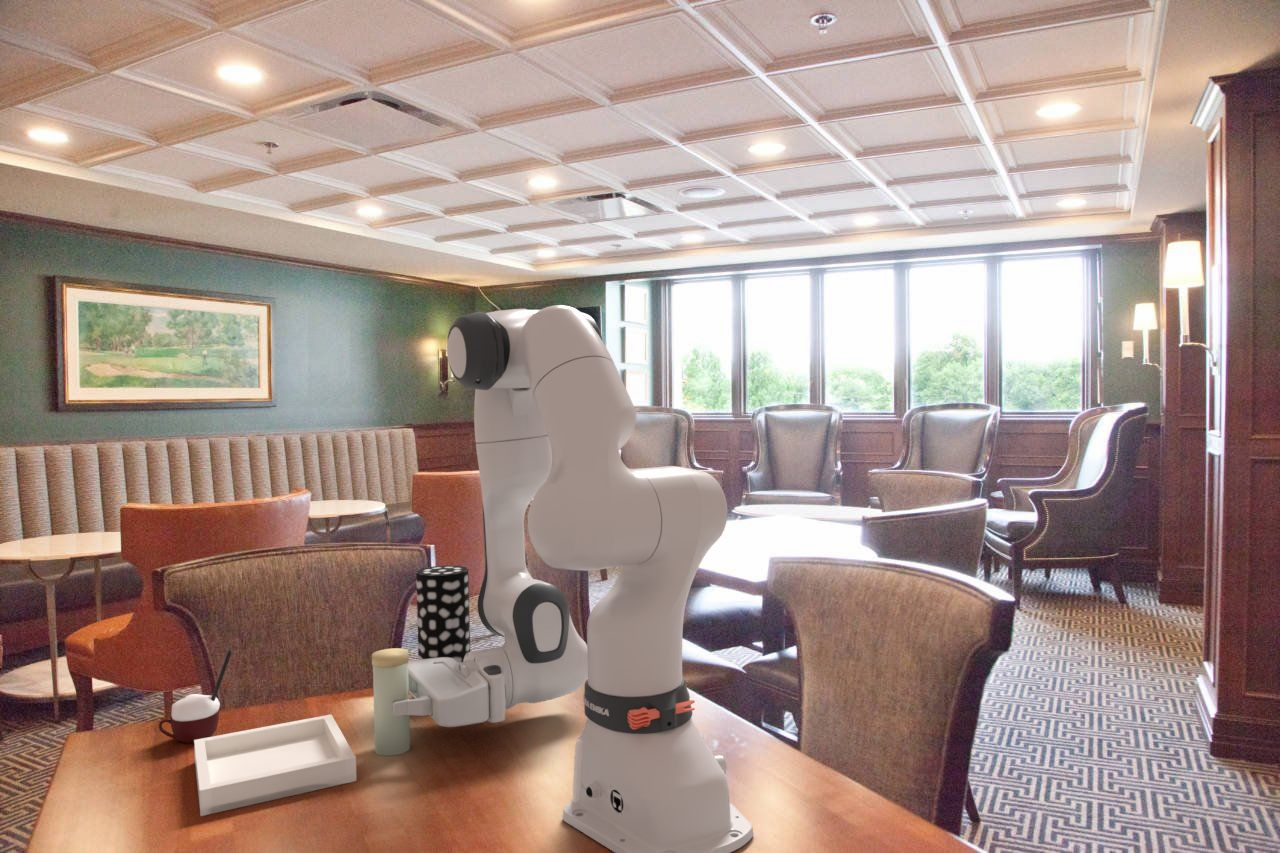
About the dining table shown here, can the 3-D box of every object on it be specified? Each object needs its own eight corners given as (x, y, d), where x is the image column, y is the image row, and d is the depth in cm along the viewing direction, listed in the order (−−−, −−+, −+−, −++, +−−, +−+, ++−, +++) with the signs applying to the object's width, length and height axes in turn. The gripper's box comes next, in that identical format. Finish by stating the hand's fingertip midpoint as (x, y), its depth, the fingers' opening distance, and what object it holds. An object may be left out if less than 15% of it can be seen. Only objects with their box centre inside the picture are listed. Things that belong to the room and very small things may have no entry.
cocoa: (155, 750, 119) (147, 666, 118) (178, 731, 125) (169, 651, 124) (224, 745, 119) (216, 661, 118) (243, 726, 125) (236, 646, 124)
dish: (356, 780, 107) (355, 757, 107) (200, 816, 98) (199, 790, 98) (331, 735, 122) (331, 714, 122) (194, 762, 113) (194, 739, 113)
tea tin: (414, 751, 116) (412, 654, 115) (378, 759, 113) (376, 660, 113) (406, 739, 120) (403, 646, 119) (371, 746, 117) (368, 651, 117)
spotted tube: (458, 702, 135) (455, 576, 134) (410, 699, 136) (406, 574, 136) (479, 684, 143) (476, 566, 142) (432, 682, 144) (429, 565, 144)
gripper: (459, 642, 132) (367, 657, 125) (507, 678, 114) (402, 698, 107) (460, 683, 132) (369, 699, 125) (508, 725, 114) (404, 747, 107)
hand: (384, 699), depth 116 cm, fingers open, 7 cm apart
